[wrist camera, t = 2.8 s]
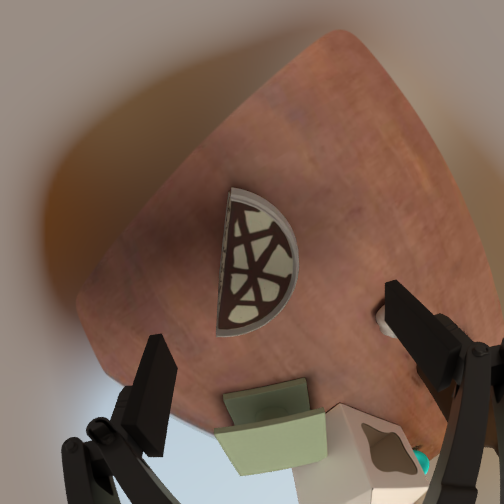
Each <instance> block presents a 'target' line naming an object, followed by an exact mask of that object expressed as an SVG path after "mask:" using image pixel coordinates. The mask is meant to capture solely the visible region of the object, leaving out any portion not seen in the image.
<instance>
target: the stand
mask: <svg viewBox="0 0 504 504" xmlns="http://www.w3.org/2000/svg"><path fill="white" fill-rule="evenodd" d="M223 400H224V403H225V405H226V407H227V409H228V411H229V414H230V416H231V418H232V420H233V422H234V424H235V426H229V427H222V428H214V435H215V437H216V438H217V440H218V442H219V443H220V445H221V446H222V448H223V450H224V452H225V453H226V455H227V456H228V458H229V460H230V461H231V462H232V464H233V466H234V467H235V469H236V470H237V472H238V473H239V475H240V476H246V475H253V474H260V473H265V472H272V471H278V470H283V469H288V468H293V467H297V466H302V465H306V464H310V463H314V462H318V461H321V460H322V459H324V458H326V457H327V435H326V418H325V411H324V408H323V407H321V408H318V409H314V410H310V405H309V398H308V390H307V383H306V380H305V377H304V378H300V379H296V380H292V381H288V382H283V383H279V384H274V385H270V386H265V387H260V388H255V389H250V390H244V391H239V392H233V393H227V394H223Z"/></svg>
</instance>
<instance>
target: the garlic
mask: <svg viewBox="0 0 504 504" xmlns="http://www.w3.org/2000/svg"><path fill="white" fill-rule="evenodd" d="M384 317H385V305H384V306H382V307H381V309H379V311H378V312H377V314H376V321H377V323H378V324H379V325H380V330H381V332H382V333H383V334H384V335H388V336H389V337H392V338H397V337H396V335H395V334H394V333H393V331H392V330H391V329H390V328H389V326H388V325H387V324H386V322H385V321H384Z"/></svg>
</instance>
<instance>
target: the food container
mask: <svg viewBox="0 0 504 504" xmlns="http://www.w3.org/2000/svg"><path fill="white" fill-rule="evenodd" d="M298 272H299V255H298V246H297V242H296V238H295V235H294V233H293V230H292V228H291V226H290V225H289V223H288V221H287V220H286V218H285V217H284V216H283V215H282V214H281V212H280V211H279V210H278V209H277V208H276V207H275V206H273V205H272V204H271V203H270V202H268V201H267V200H265V199H264V198H262V197H260V196H258V195H256V194H254V193H251V192H249V191H246V190H243V189H238V188H233V187H231V191H229V192H228V200H227V209H226V217H225V226H224V235H223V244H222V253H221V262H220V272H219V287H218V305H217V326H216V337H232V336H238V335H242V334H246V333H249V332H252V331H254V330H257V329H259V328H260V327H262V326H264V325H266V324H267V323H268V322H270V321H271V320H272V319H274V318H275V317H276V316H277V315H278V314H279V313H280V312H281V311H282V309H283V308H284V307H285V305H286V304H287V302H288V301H289V299H290V297H291V295H292V293H293V291H294V289H295V286H296V282H297V279H298Z"/></svg>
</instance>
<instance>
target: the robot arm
mask: <svg viewBox="0 0 504 504" xmlns="http://www.w3.org/2000/svg"><path fill="white" fill-rule="evenodd" d="M384 321H385V322H386V324H387V325H388V326H389V328H390V329H391V330H392V331H393V333H394V334H395V335H396V337H397V338H398V339H399V340H400V342H401V343H402V344H403V346H404V347H405V348H406V350H407V351H408V352H409V354H410V355H411V356H412V358H413V359H414V360H415V362H416V363H417V364H418V366H419V367H420V369H421V370H422V371H423V373H424V374H425V375H426V377H427V378H428V380H429V381H430V382H431V384H432V385H433V387H434V388H435V389H436V391H437V392H440V391H442V390H444V389H446V388H447V387H449V386H450V384H451V381H452V378H453V379H454V380H455V382H456V386H455V388H454V391H453V394H452V396H451V397H453V401H452V406H451V411H450V416H449V420H448V425H447V429H446V433H445V437H444V441H443V444H442V448H441V451H440V455H439V458H438V461H437V465H436V468H435V471H434V474H433V477H432V480H431V482H430V485H429V488H428V490H427V493H426V496H425V498H424V501H423V503H422V504H475V501H476V498H477V493H478V490H477V489H476V487H475V485H476V481H477V477H478V472H479V468H480V464H481V459H482V454H483V448H484V443H485V436H486V429H487V422H488V413H489V402H490V394H491V399H492V405H493V411H494V417H495V423H496V431H497V439H498V449H499V462H500V504H504V338H503V340H502V343H501V345H497V346H492V347H489V346H488V345H486V344H485V343H482V342H473V341H472V340H471V339H470V338H469V337H468V336H467V335H466V334H465V333H464V332H463V331H462V330H461V329H460V328H458V326H457V325H456V324H455V323H454V322H453V321H452V320H451V319H450V318H449V317H447V316H445V315H443V314H441V313H439V314H437V315H433V314H432V313H431V312H430V311H429V310H428V309H427V308H426V307H425V306H424V305H423V304H422V303H421V302H420V301H419V300H417V299H416V298H415V297H414V296H413V295H412V294H411V293H410V292H409V291H408V290H407V289H406V288H405V287H404V286H403V285H402V284H400V283H399V282H398V281H397V280H393V281H389V282H386V283H385V317H384ZM177 369H178V368H177V366H176V364H175V361H174V359H173V357H172V355H171V353H170V351H169V349H168V347H167V344H166V342H165V340H164V338H163V335H162V334H155V335H150V336H149V339H148V342H147V344H146V347H145V350H144V353H143V356H142V359H141V362H140V364H139V367H138V370H137V373H136V376H135V379H134V382H133V385H132V386H125V387H124V388H123V389H122V391H121V392H120V393H119V396H118V399H117V402H116V405H115V408H114V411H113V414H112V417H111V420H110V421H109V420H108V419H107V418H104V417H98V418H95V419H93V420H92V421H91V422H90V423H89V424H88V426H87V428H86V433H87V435H88V436H89V437H90V438H91V439H92V441H88V442H82V441H81V440H80V439H79V438H77V437H71V438H69V439H67V440H66V441H65V442H64V443H63V445H62V449H61V453H62V464H63V472H64V481H65V488H66V494H67V501H68V504H121V503H120V500H119V497H118V493H117V490H116V487H115V483H114V480H113V476H114V477H115V478H116V480H117V481H118V483H119V485H120V486H121V488H122V489H123V491H124V493H125V494H126V495H127V497H128V498H129V499H130V501H131V503H132V504H181V503H180V502H179V501H178V500H177V499H176V498H175V497H174V496H173V495H172V493H170V491H169V490H168V489H167V488H166V487H165V486H164V484H163V483H162V482H161V481H160V479H159V478H158V477H157V476H156V474H155V473H154V472H153V471H152V469H151V468H150V467H149V466H148V464H147V463H146V462H145V460H144V459H143V458H142V454H143V452H145V454H147V456H148V457H163V452H164V446H165V439H166V433H167V426H168V421H169V415H170V409H171V403H172V397H173V391H174V386H175V380H176V375H177Z"/></svg>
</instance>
